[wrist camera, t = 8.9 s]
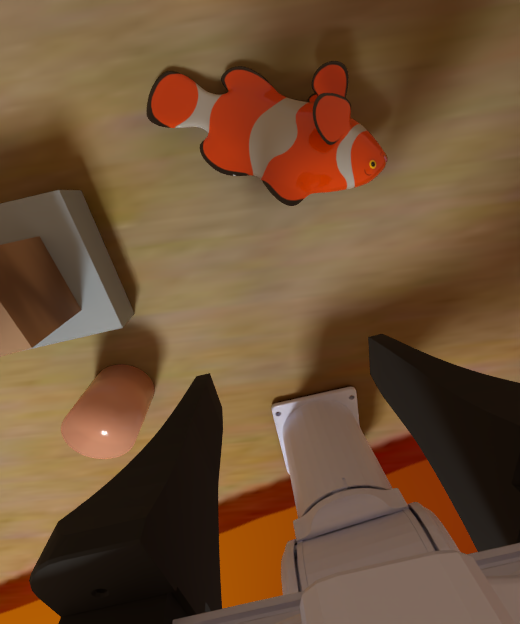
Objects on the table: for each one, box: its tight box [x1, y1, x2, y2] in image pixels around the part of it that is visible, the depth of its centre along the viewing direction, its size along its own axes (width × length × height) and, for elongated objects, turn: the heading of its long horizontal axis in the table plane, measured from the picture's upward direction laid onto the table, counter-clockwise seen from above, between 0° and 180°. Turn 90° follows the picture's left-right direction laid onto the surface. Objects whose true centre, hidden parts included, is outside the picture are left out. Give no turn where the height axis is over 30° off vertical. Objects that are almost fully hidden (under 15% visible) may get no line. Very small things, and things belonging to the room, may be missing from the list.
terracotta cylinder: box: [61, 364, 154, 459], centre depth 22 cm, size 5×5×5 cm
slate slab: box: [0, 190, 134, 350], centre depth 19 cm, size 9×9×3 cm
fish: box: [147, 61, 388, 206], centre depth 16 cm, size 13×5×8 cm
